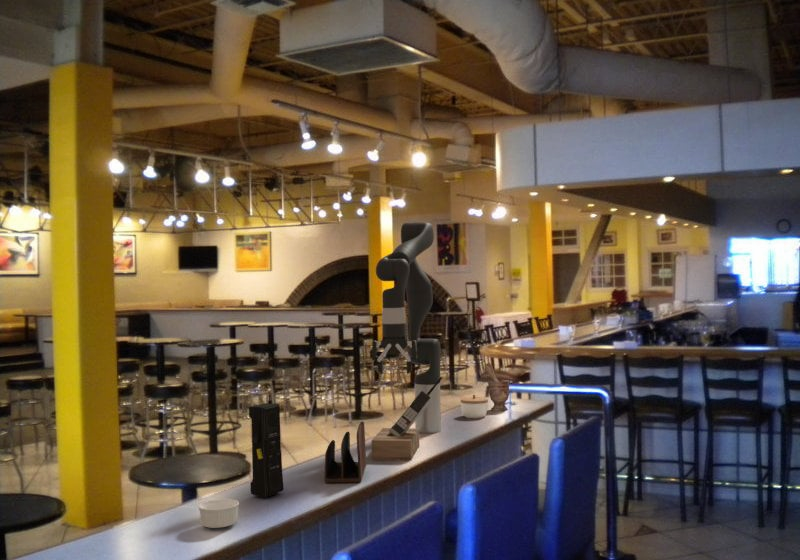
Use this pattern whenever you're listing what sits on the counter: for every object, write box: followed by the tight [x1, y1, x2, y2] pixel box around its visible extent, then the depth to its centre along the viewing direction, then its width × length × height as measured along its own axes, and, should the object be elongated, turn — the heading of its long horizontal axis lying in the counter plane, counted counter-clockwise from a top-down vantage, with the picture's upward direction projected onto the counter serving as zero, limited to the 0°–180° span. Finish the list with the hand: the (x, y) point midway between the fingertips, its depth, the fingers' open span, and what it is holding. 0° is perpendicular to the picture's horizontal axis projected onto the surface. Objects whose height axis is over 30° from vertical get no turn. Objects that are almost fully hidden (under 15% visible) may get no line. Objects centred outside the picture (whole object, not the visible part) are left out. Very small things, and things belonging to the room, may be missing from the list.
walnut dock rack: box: [371, 427, 420, 461], centre depth 245 cm, size 20×12×6 cm, turn 171°
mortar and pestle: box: [484, 362, 510, 412], centre depth 321 cm, size 12×9×20 cm
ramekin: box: [198, 498, 240, 529], centre depth 175 cm, size 9×9×4 cm
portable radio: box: [248, 393, 284, 498], centre depth 199 cm, size 8×6×25 cm
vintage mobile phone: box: [389, 376, 443, 436], centre depth 248 cm, size 4×5×25 cm
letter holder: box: [324, 421, 367, 484], centre depth 219 cm, size 10×20×14 cm, turn 178°
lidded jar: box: [460, 394, 489, 419], centre depth 306 cm, size 11×11×9 cm
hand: (394, 373), depth 245 cm, fingers open, 8 cm apart
